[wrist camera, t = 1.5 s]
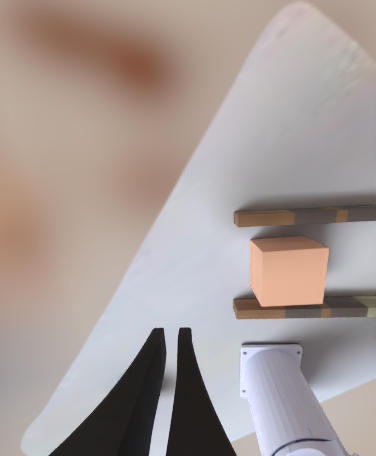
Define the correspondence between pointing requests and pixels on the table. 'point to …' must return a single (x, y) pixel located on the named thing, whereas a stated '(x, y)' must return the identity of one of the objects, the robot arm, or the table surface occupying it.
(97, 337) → the table surface
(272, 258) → the terracotta block
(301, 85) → the table surface
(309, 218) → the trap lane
